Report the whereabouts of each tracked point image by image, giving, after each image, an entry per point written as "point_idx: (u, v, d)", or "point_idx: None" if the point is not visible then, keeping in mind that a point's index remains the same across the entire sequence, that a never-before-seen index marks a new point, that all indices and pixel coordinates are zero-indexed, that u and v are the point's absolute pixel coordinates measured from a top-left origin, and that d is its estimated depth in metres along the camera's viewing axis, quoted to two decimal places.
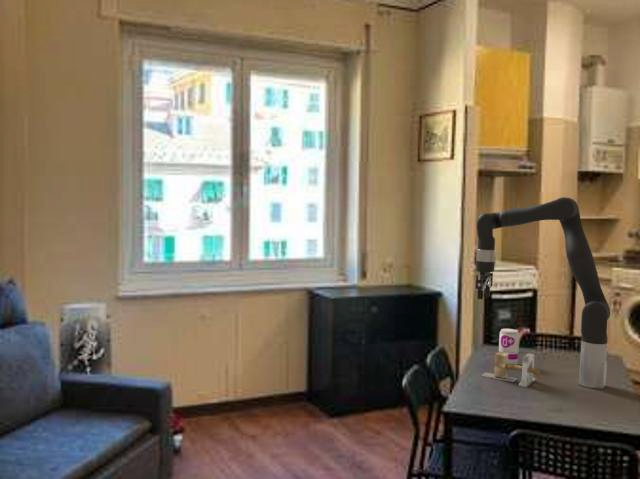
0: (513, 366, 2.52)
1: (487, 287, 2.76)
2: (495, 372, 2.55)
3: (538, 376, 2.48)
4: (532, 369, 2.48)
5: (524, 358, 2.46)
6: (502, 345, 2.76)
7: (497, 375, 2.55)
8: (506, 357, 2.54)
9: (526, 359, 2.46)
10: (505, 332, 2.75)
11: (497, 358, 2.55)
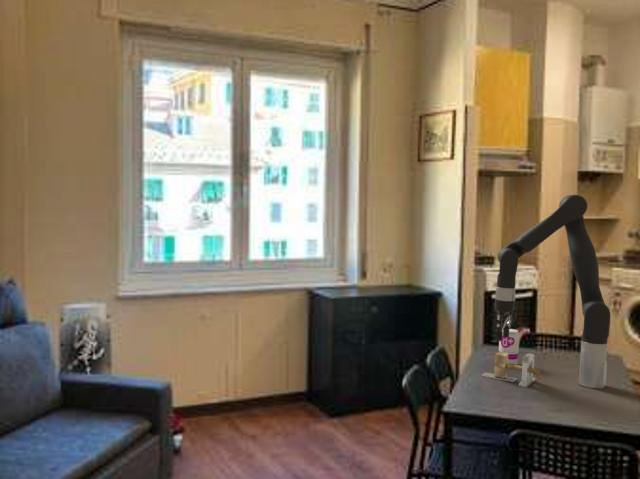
0: (513, 366, 2.52)
1: (506, 327, 2.58)
2: (495, 372, 2.55)
3: (538, 376, 2.48)
4: (532, 369, 2.48)
5: (524, 358, 2.46)
6: (502, 345, 2.76)
7: (497, 375, 2.55)
8: (506, 357, 2.54)
9: (526, 359, 2.46)
10: None
11: (497, 358, 2.55)
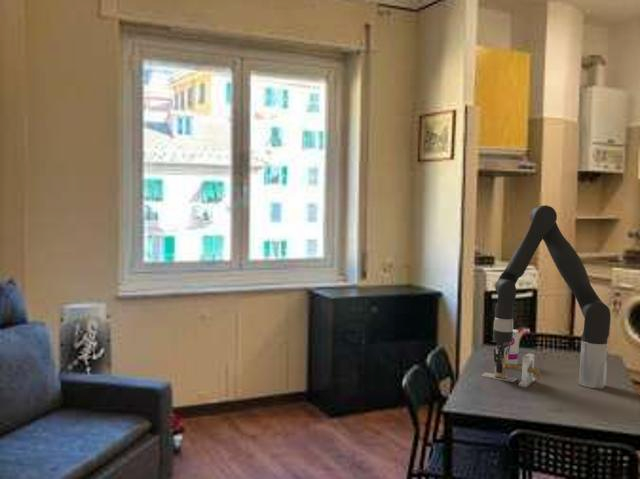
0: (513, 366, 2.52)
1: None
2: (495, 372, 2.55)
3: (538, 376, 2.48)
4: (532, 369, 2.48)
5: (524, 358, 2.46)
6: None
7: (497, 375, 2.55)
8: (506, 357, 2.54)
9: (526, 359, 2.46)
10: None
11: None
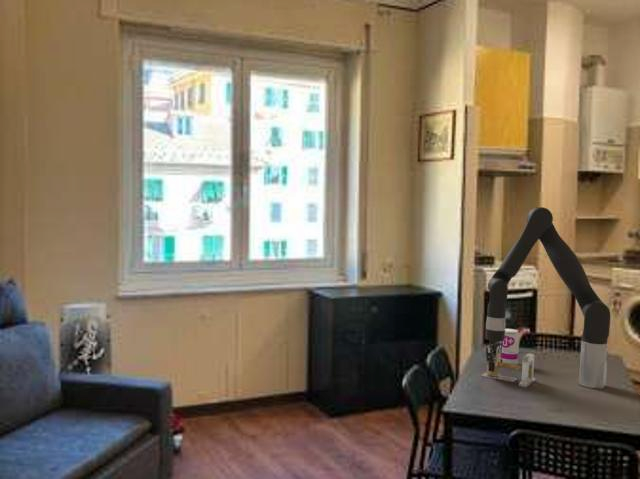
0: (505, 365, 2.54)
1: None
2: (487, 371, 2.57)
3: (530, 375, 2.49)
4: None
5: (524, 358, 2.46)
6: None
7: (489, 374, 2.57)
8: (498, 356, 2.56)
9: (526, 359, 2.46)
10: (505, 332, 2.75)
11: None
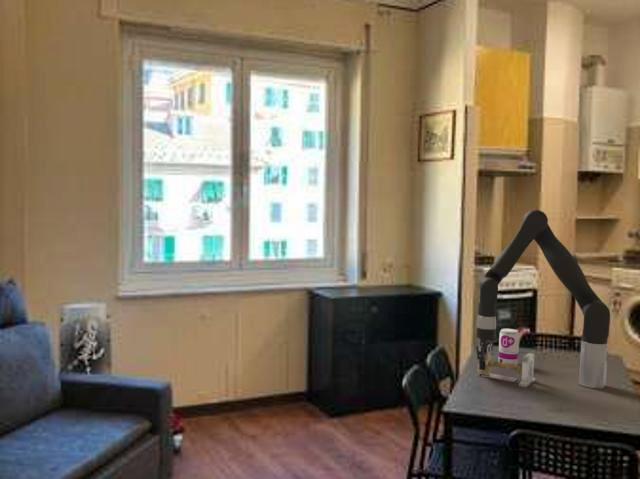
0: (496, 363, 2.56)
1: None
2: (478, 369, 2.59)
3: (520, 373, 2.51)
4: (514, 366, 2.52)
5: (524, 358, 2.46)
6: (502, 345, 2.76)
7: (480, 372, 2.59)
8: (489, 354, 2.58)
9: (526, 359, 2.46)
10: (505, 332, 2.75)
11: None
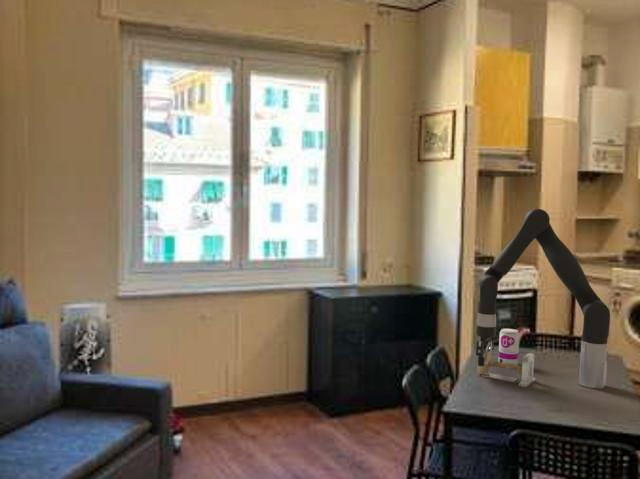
0: (496, 363, 2.56)
1: None
2: (478, 369, 2.59)
3: (520, 373, 2.51)
4: (514, 366, 2.52)
5: (524, 358, 2.46)
6: (502, 345, 2.76)
7: (480, 372, 2.59)
8: (489, 354, 2.58)
9: (526, 359, 2.46)
10: (505, 332, 2.75)
11: None
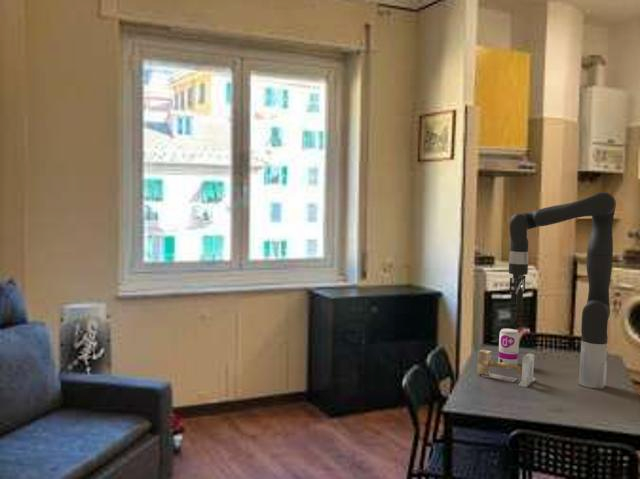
0: (496, 363, 2.56)
1: (520, 290, 2.66)
2: (478, 369, 2.59)
3: (520, 373, 2.51)
4: (514, 366, 2.52)
5: (524, 358, 2.46)
6: (502, 345, 2.76)
7: (480, 372, 2.59)
8: (489, 354, 2.58)
9: (526, 359, 2.46)
10: (505, 332, 2.75)
11: (480, 355, 2.59)
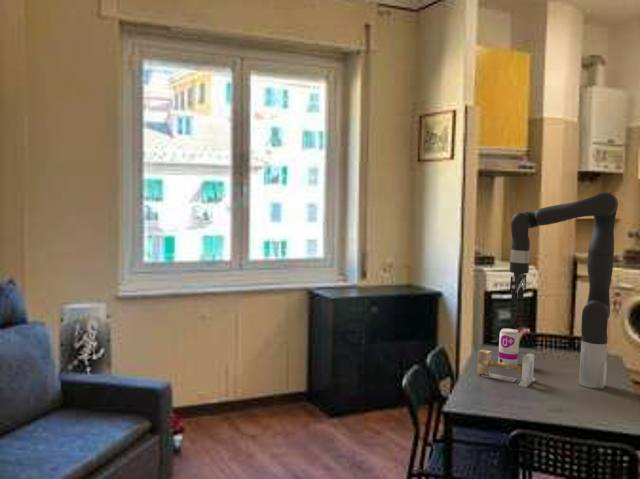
0: (496, 363, 2.56)
1: (521, 289, 2.66)
2: (478, 369, 2.59)
3: (520, 373, 2.51)
4: (514, 366, 2.52)
5: (524, 358, 2.46)
6: (502, 345, 2.76)
7: (480, 372, 2.59)
8: (489, 354, 2.58)
9: (526, 359, 2.46)
10: (505, 332, 2.75)
11: (480, 355, 2.59)
